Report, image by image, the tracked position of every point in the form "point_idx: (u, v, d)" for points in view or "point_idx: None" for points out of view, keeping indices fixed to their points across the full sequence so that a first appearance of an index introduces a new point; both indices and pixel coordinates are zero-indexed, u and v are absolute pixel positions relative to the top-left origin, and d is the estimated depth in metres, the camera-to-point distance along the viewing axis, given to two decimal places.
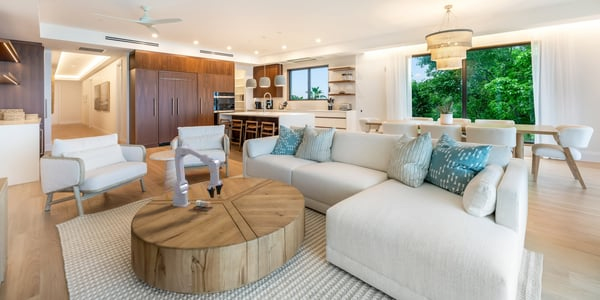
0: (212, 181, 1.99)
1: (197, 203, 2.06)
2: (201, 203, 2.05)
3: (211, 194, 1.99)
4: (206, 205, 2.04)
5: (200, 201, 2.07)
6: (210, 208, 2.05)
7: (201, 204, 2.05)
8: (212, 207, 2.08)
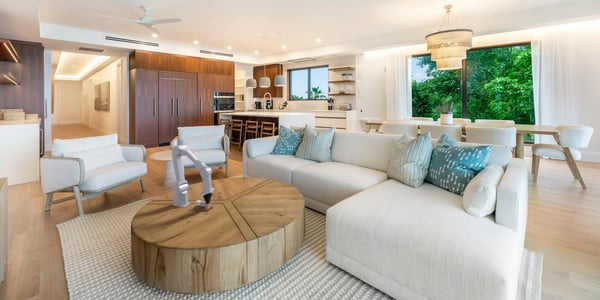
0: (204, 189, 2.01)
1: (197, 203, 2.06)
2: (201, 203, 2.05)
3: (206, 200, 2.04)
4: (206, 206, 2.04)
5: (200, 201, 2.07)
6: (210, 208, 2.05)
7: (201, 204, 2.05)
8: (212, 207, 2.08)
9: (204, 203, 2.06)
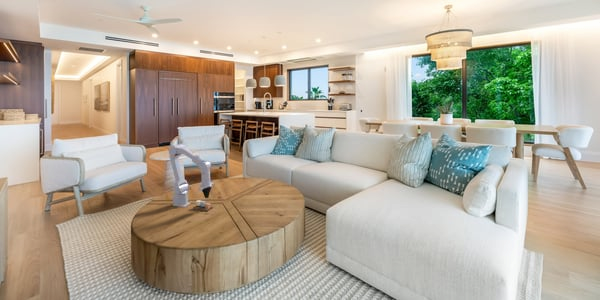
0: (203, 183, 2.00)
1: (197, 203, 2.06)
2: (201, 203, 2.05)
3: (205, 194, 2.03)
4: (206, 206, 2.04)
5: (200, 201, 2.07)
6: (210, 208, 2.05)
7: (201, 204, 2.05)
8: (212, 207, 2.08)
9: (204, 203, 2.06)
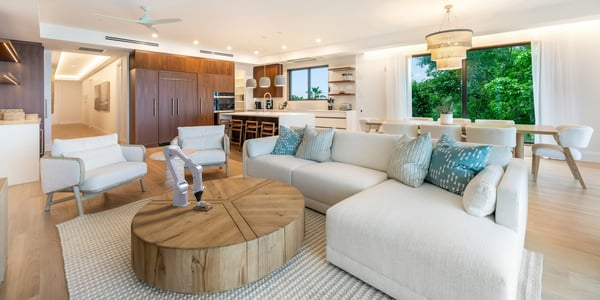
0: (195, 187, 2.03)
1: (197, 203, 2.06)
2: (201, 203, 2.05)
3: (197, 198, 2.06)
4: (206, 206, 2.04)
5: (200, 201, 2.07)
6: (210, 208, 2.05)
7: (201, 204, 2.05)
8: (212, 207, 2.08)
9: (204, 203, 2.06)
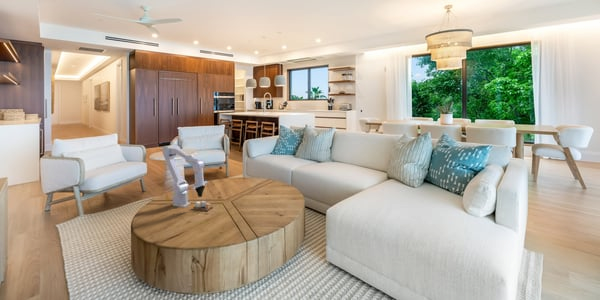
0: (196, 182, 2.02)
1: (197, 204, 2.06)
2: (201, 203, 2.05)
3: (199, 193, 2.05)
4: (206, 206, 2.04)
5: None
6: (210, 208, 2.05)
7: (201, 204, 2.05)
8: (212, 207, 2.08)
9: (204, 203, 2.06)
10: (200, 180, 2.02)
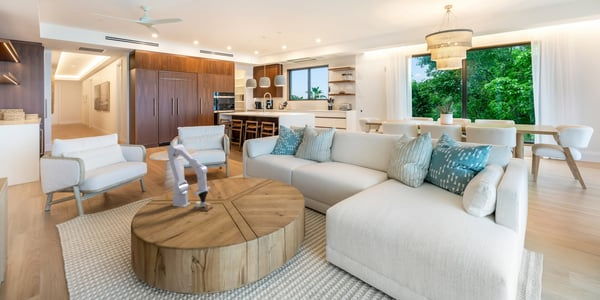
0: (200, 187, 2.02)
1: (197, 204, 2.06)
2: (201, 203, 2.05)
3: (202, 198, 2.05)
4: (206, 206, 2.04)
5: None
6: (210, 208, 2.05)
7: (201, 204, 2.05)
8: (212, 207, 2.08)
9: (204, 203, 2.06)
10: (203, 186, 2.02)
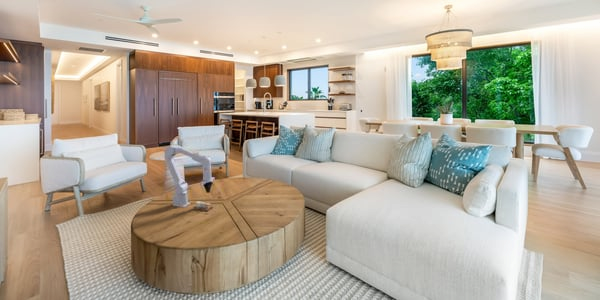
0: (205, 178, 2.06)
1: (197, 204, 2.06)
2: (201, 204, 2.05)
3: (207, 189, 2.10)
4: (206, 206, 2.04)
5: (200, 202, 2.07)
6: (210, 208, 2.05)
7: (201, 205, 2.06)
8: (212, 207, 2.08)
9: (204, 204, 2.06)
10: (208, 176, 2.06)
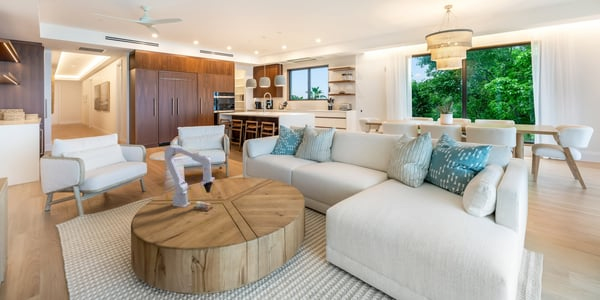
0: (205, 178, 2.06)
1: (197, 204, 2.06)
2: (201, 204, 2.05)
3: (207, 189, 2.10)
4: (206, 206, 2.04)
5: (200, 202, 2.07)
6: (210, 208, 2.05)
7: (201, 205, 2.06)
8: (212, 207, 2.08)
9: (204, 204, 2.06)
10: (208, 176, 2.06)
